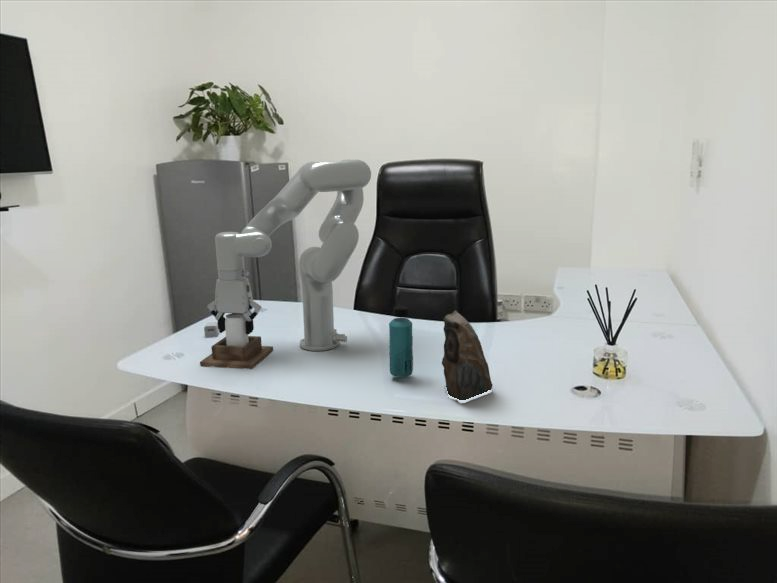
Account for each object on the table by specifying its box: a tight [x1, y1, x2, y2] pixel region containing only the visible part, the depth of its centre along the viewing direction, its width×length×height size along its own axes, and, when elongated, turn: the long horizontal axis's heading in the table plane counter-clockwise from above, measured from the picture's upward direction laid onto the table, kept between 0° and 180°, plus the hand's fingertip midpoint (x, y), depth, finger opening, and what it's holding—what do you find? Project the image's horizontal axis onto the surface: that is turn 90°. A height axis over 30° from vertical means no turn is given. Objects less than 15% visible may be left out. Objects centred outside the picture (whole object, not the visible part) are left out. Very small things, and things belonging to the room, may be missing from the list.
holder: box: [199, 335, 274, 370], centre depth 163 cm, size 16×16×5 cm
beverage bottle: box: [388, 305, 414, 378], centre depth 145 cm, size 6×7×20 cm
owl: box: [441, 310, 493, 400], centre depth 136 cm, size 13×13×20 cm
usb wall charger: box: [203, 321, 220, 338], centre depth 186 cm, size 4×7×4 cm, turn 9°
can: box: [224, 313, 249, 347], centre depth 162 cm, size 6×6×12 cm
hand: (236, 331), depth 162 cm, fingers open, 8 cm apart
